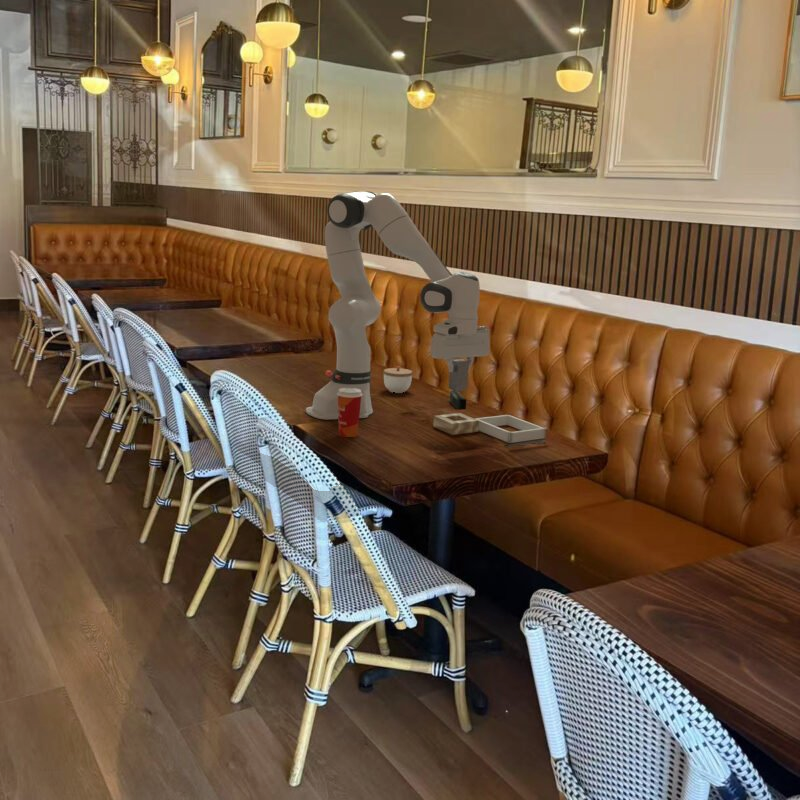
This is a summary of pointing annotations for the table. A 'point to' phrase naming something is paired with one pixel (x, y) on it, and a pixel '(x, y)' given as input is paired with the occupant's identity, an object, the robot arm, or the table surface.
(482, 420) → the grey tray
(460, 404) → the mobile phone
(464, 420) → the socket block
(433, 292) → the robot arm
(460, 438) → the table surface
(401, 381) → the lidded jar
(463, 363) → the pin
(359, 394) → the paper cup
